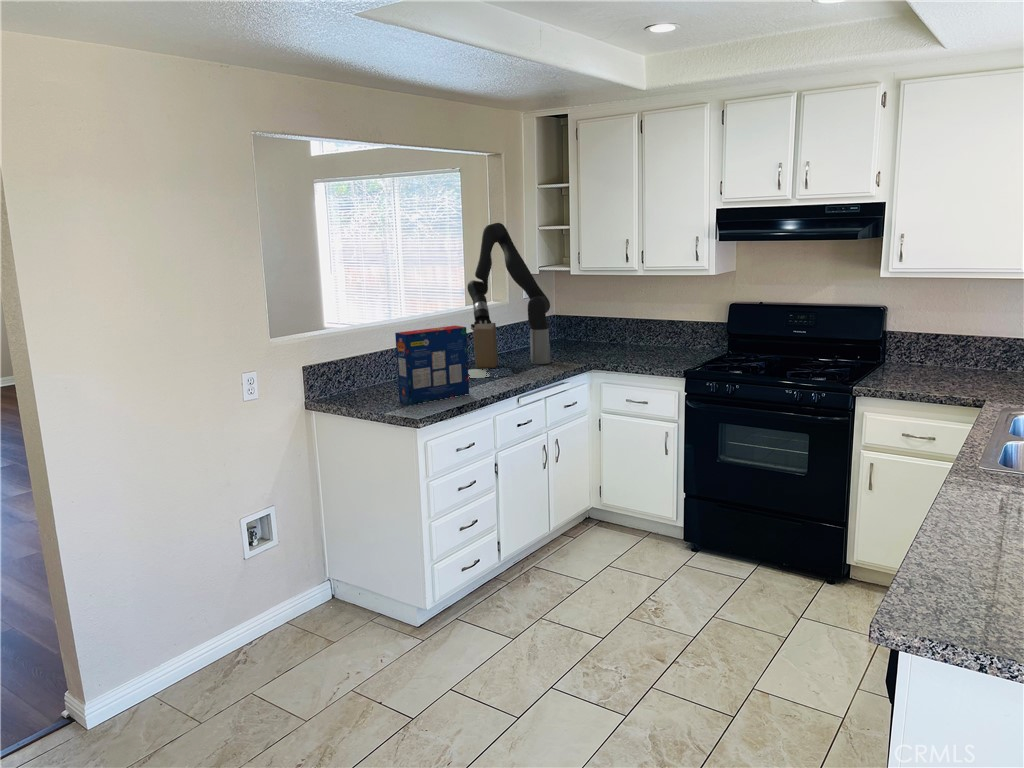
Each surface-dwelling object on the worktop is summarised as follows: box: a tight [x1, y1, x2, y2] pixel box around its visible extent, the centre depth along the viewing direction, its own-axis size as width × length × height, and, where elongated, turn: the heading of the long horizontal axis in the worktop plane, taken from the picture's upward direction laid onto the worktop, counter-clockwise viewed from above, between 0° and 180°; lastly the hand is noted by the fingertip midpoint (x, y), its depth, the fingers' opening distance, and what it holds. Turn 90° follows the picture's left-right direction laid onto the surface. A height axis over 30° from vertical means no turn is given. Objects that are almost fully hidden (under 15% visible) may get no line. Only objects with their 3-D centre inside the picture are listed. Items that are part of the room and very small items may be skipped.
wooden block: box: [472, 323, 499, 369], centre depth 373 cm, size 10×10×20 cm
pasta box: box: [394, 325, 470, 406], centre depth 308 cm, size 28×8×28 cm, turn 127°
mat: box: [468, 368, 499, 379], centre depth 361 cm, size 22×22×1 cm
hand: (485, 339), depth 378 cm, fingers closed
